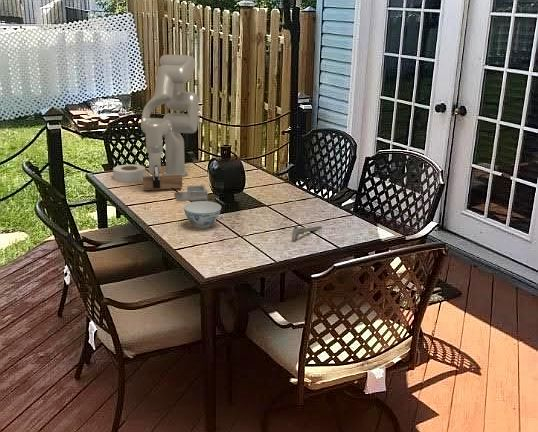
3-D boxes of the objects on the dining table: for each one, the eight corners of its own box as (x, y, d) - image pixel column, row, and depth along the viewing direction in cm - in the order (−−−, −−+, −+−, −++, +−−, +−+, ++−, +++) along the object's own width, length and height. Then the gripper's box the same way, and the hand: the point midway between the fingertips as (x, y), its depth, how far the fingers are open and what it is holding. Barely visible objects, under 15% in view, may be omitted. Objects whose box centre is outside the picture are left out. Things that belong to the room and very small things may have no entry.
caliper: (294, 242, 242) (294, 227, 240) (291, 242, 243) (292, 226, 241) (322, 228, 258) (323, 213, 256) (320, 227, 258) (321, 213, 256)
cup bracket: (174, 194, 296) (174, 186, 294) (204, 192, 299) (204, 184, 298) (176, 201, 286) (176, 193, 284) (207, 199, 289) (207, 191, 288)
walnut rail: (143, 186, 301) (142, 176, 299) (181, 184, 305) (181, 174, 303) (143, 189, 296) (143, 179, 295) (182, 187, 301) (182, 177, 299)
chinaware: (187, 232, 249) (186, 214, 246) (181, 220, 262) (181, 202, 260) (224, 229, 253) (224, 211, 250) (217, 217, 266) (217, 200, 264)
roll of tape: (114, 174, 325) (113, 164, 323) (145, 173, 328) (145, 163, 326) (113, 183, 310) (112, 172, 308) (145, 182, 313) (145, 171, 311)
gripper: (145, 144, 300) (147, 181, 306) (147, 153, 285) (149, 192, 291) (161, 143, 302) (162, 180, 308) (164, 153, 286) (165, 191, 293)
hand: (156, 185), depth 300 cm, fingers closed on walnut rail, 4 cm apart
